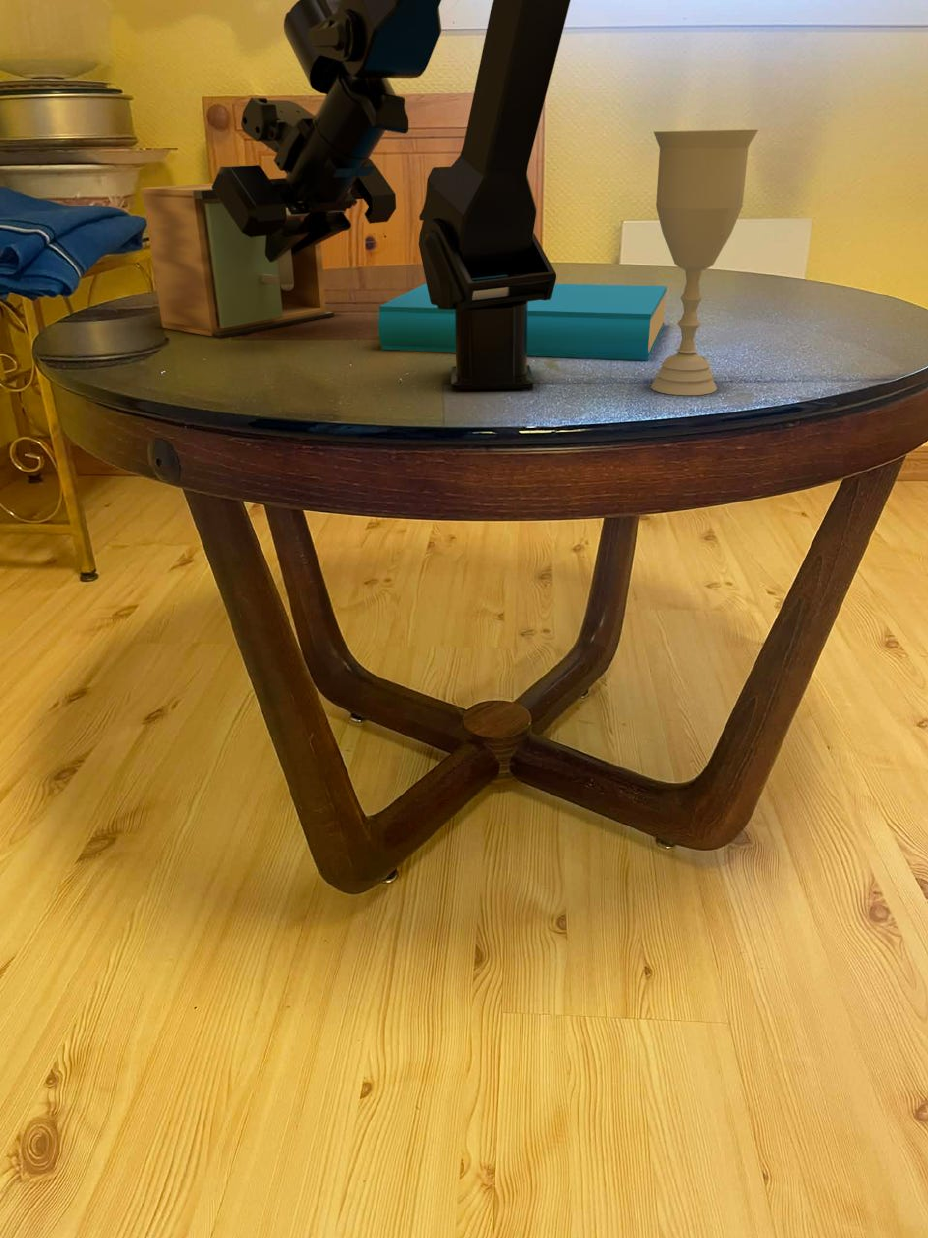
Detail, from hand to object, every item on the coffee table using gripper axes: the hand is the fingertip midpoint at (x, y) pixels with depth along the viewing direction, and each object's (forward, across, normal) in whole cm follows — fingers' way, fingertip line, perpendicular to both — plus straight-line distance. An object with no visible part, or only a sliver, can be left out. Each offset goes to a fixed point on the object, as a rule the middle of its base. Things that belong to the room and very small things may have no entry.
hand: (275, 257), depth 98 cm
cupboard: (+10, -1, 0) cm, 10 cm away
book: (-11, -11, +22) cm, 27 cm away
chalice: (-27, -2, +37) cm, 46 cm away
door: (+5, +2, +4) cm, 7 cm away
